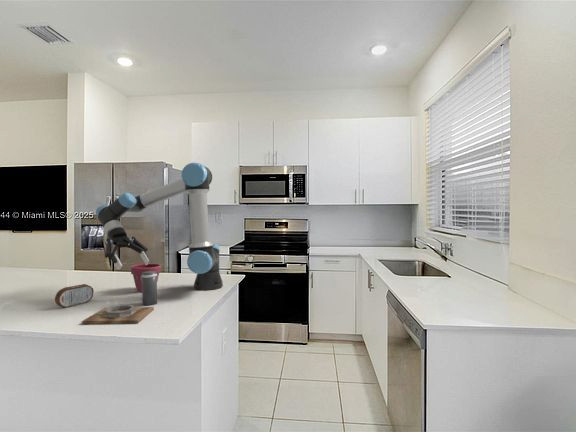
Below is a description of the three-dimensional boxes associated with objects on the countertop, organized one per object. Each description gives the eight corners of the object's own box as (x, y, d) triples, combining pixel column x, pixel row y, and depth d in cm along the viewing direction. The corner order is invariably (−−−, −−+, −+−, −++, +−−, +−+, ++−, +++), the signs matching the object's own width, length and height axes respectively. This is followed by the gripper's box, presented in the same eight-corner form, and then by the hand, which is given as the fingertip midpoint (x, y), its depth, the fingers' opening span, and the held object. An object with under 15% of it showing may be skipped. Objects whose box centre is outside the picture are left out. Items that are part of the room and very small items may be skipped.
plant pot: (166, 287, 174) (165, 263, 174) (152, 293, 160) (152, 268, 160) (140, 286, 175) (140, 263, 175) (125, 293, 161) (125, 267, 161)
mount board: (153, 309, 134) (153, 302, 134) (137, 323, 118) (137, 314, 118) (104, 310, 133) (104, 302, 133) (81, 324, 117) (81, 315, 117)
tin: (91, 300, 149) (90, 282, 149) (94, 301, 147) (94, 282, 147) (54, 309, 136) (54, 289, 135) (58, 310, 134) (58, 290, 134)
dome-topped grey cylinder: (159, 301, 146) (159, 271, 146) (154, 305, 140) (154, 273, 140) (145, 301, 146) (145, 271, 146) (139, 305, 140) (139, 273, 140)
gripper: (136, 235, 168) (154, 266, 160) (85, 239, 146) (104, 275, 139) (142, 225, 165) (161, 256, 157) (91, 227, 144) (111, 264, 136)
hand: (134, 265), depth 148 cm, fingers open, 13 cm apart
